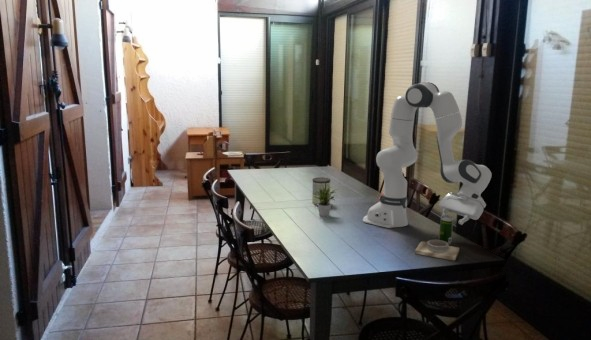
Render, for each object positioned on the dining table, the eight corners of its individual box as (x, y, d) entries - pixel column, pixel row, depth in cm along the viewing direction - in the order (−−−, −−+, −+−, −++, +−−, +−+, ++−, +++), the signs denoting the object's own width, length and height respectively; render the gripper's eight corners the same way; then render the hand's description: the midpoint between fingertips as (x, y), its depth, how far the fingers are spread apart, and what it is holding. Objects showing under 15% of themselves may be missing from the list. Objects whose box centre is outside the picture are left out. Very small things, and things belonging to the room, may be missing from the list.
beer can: (453, 243, 209) (455, 217, 207) (447, 246, 205) (450, 219, 203) (442, 240, 213) (444, 214, 210) (436, 243, 209) (438, 217, 206)
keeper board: (415, 253, 196) (415, 244, 196) (421, 244, 207) (421, 235, 206) (454, 260, 189) (455, 251, 188) (459, 250, 200) (459, 242, 199)
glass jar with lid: (312, 200, 276) (313, 177, 273) (330, 201, 275) (330, 177, 272) (311, 205, 266) (311, 181, 263) (329, 205, 265) (330, 181, 262)
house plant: (336, 221, 238) (337, 189, 235) (309, 219, 241) (310, 188, 237) (339, 213, 252) (340, 183, 248) (314, 211, 254) (314, 182, 251)
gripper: (446, 187, 219) (430, 211, 215) (483, 197, 202) (467, 223, 198) (451, 195, 222) (436, 218, 219) (489, 206, 205) (473, 231, 202)
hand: (451, 220), depth 208 cm, fingers open, 8 cm apart
